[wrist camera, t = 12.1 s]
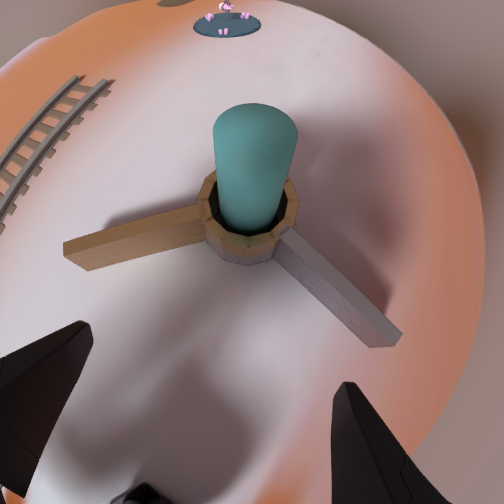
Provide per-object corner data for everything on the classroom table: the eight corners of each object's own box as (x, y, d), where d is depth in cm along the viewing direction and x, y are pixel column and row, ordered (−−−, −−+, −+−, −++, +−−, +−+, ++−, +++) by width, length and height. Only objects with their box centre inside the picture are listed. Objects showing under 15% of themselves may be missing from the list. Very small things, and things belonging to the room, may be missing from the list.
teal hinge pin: (246, 258, 24) (256, 178, 13) (211, 224, 25) (195, 129, 14) (281, 225, 25) (314, 133, 14) (246, 193, 26) (254, 93, 15)
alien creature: (196, 16, 40) (194, -10, 34) (258, 15, 40) (260, -12, 34) (190, 41, 36) (186, 9, 30) (263, 39, 37) (266, 7, 30)
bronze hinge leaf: (161, 364, 21) (144, 367, 17) (82, 263, 23) (58, 247, 19) (304, 224, 25) (317, 201, 21) (215, 149, 28) (212, 119, 24)
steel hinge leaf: (346, 375, 21) (368, 380, 17) (187, 223, 25) (178, 199, 21) (395, 310, 23) (422, 302, 19) (246, 174, 27) (247, 145, 23)
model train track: (117, 90, 32) (113, 80, 30) (-18, 282, 22) (-28, 278, 20) (73, 82, 33) (69, 74, 31) (-43, 243, 23) (-51, 238, 21)
